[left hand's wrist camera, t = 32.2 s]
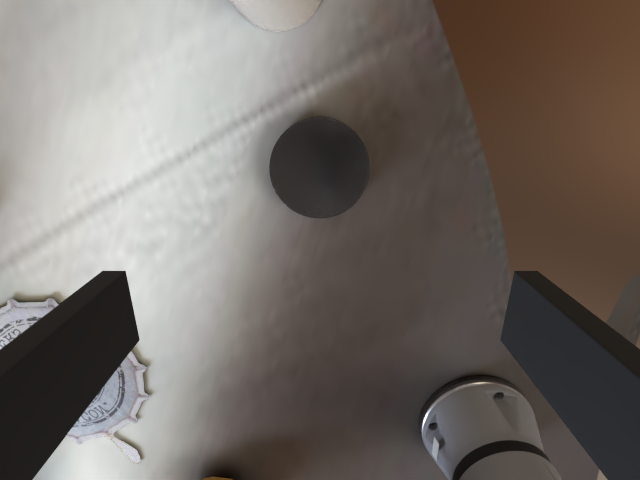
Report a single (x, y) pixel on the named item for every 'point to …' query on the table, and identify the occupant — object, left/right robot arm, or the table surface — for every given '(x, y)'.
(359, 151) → the lid
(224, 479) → the potato
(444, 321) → the table surface
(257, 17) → the jar
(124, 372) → the decorative wall hanging
